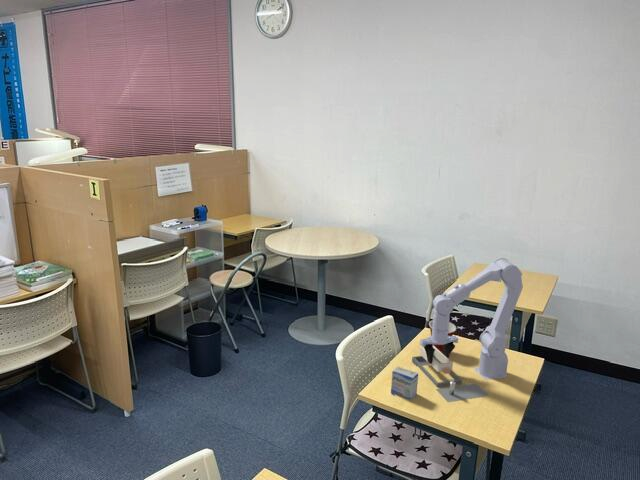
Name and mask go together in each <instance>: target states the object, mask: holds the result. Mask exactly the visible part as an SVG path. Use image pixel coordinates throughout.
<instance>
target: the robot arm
mask: <svg viewBox="0 0 640 480" xmlns="http://www.w3.org/2000/svg"><path fill="white" fill-rule="evenodd" d="M522 276H523V273H522V271H521V270H520V268H519V267H518V266H516V265H514V264H513V263H512V262H511V261H509V260H508V259H507V258H505V257H499V258H497V259H495V260H494V261H492V262H491V263H489V264H488V265H487V267H486V268H485V269H483V270H482V271H480V272H479V273H478V274H476V275H475V276H474V277H473V278H471V279H470V280H469V281H467V282H466V283H458V284H457V283H455V284H454V285H453V287H452V288H451V289H449V290H448V291H446V292H443V293H442V294H438V295H436V296H435V297H434V298H433V300H432V302H431V303H432V306H433V307H434V308H433V316H432V320H433V326H432V336H431V335H430V336H428V337H426V338H422V339H419V345H420V347H424V348H425V351H426V354H427V360H428V362H429V363H430V364H432V361H433V354H434V351H435V349H434V348H433V346H432V345H435V344H439V345H443V355H445V356H446V357H447V358H448V359H449V357H450V355H451V354H452V352H453V350H454V349H455V348H456V345H455V344H458V343H459V337H458V336H456V335H452V336H448V329H449V322H450V316H451V315H450V314H451V313H452V312H453V311H454V308H455V307H456V306H458V305H460V304H461V303H462V302H464V301H465V300H467V299H468V298H470V296H471V293H472V292H473V291H475V290H476V289H478V288H480V287H482V286H484V285H485V284H487V283H489V282H498V283H499V282H502V283H503V284H504V286H505V288H504V290H503V293H502V295H501V298H500V300H499V303H498V305H497V308H496V310H495V312H494V315H493V318H492V321H491V323H490V325H488V326H486V328H485V330H484V331H483V332H481V334H480V336H479V342H480V344H481V349H480V356H479V363H478V367H477V368H475V367H474V369H473V370H474V371H475V372H476V373H478V374H479V375H480V376H481V377H482V378H483V379H484V380H493V379H501V378H507V377H508V375H507V373H508V371H507V370H508V364H509V359H508V355H507V352H505V351H506V342H507V335H506V332H507V329H508V326H509V323H510V321H511V319H512V316H513V313H514V310H515V308H516V306H517V303H518V301H519V298H520V296H521V294H522V290H523V280H522ZM454 343H455V344H454Z"/></svg>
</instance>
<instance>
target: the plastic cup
mask: <svg viewBox="0 0 640 480" xmlns="http://www.w3.org/2000/svg"><path fill="white" fill-rule="evenodd" d="M428 326H429V330H430V337H431V336H432V326H433V319H432V320H430V321H429V322H428ZM456 331H457V326H456V325H455V324H454V323H452V322H451V321H449V329H448V336H454V333H455V332H456ZM432 346H433V345H432ZM434 346H435V347H436V348H437V349H438V350H439V351H440V352H441V353H442V354H443V345H439V344H435V345H434Z"/></svg>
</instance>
